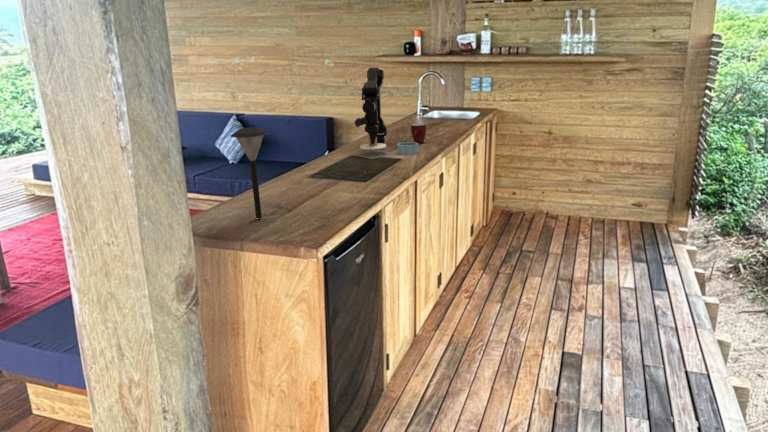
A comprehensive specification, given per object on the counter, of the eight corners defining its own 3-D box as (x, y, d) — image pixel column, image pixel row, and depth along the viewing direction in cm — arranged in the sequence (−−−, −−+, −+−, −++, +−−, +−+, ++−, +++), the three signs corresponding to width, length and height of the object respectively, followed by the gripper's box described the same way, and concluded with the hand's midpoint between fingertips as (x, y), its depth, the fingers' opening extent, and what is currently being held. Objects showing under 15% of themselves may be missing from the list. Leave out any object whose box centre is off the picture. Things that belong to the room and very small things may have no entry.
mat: (350, 156, 296) (350, 154, 296) (374, 151, 306) (374, 149, 306) (372, 159, 285) (372, 158, 285) (396, 154, 295) (396, 153, 295)
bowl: (393, 154, 295) (392, 144, 294) (408, 151, 302) (408, 141, 300) (407, 156, 288) (407, 146, 286) (422, 153, 295) (422, 143, 293)
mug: (424, 145, 316) (423, 126, 313) (409, 145, 318) (408, 126, 315) (427, 141, 325) (427, 123, 323) (413, 141, 327) (412, 123, 325)
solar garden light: (278, 222, 194) (269, 130, 185) (239, 226, 192) (228, 133, 183) (277, 212, 205) (268, 124, 197) (240, 216, 203) (229, 127, 194)
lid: (354, 147, 295) (354, 138, 293) (374, 143, 303) (373, 134, 302) (372, 150, 286) (371, 140, 284) (391, 146, 294) (391, 136, 292)
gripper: (356, 109, 299) (358, 140, 303) (353, 114, 281) (355, 147, 285) (378, 108, 298) (380, 139, 303) (376, 113, 280) (378, 146, 285)
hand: (373, 143), depth 294 cm, fingers closed on lid, 4 cm apart
